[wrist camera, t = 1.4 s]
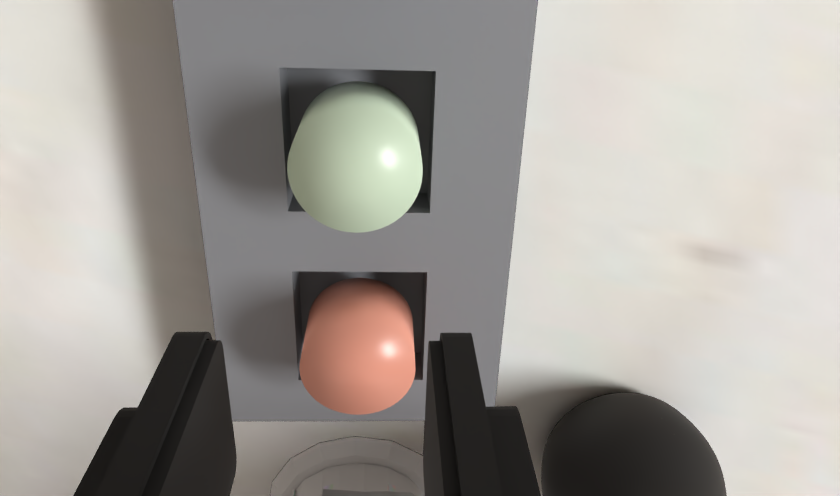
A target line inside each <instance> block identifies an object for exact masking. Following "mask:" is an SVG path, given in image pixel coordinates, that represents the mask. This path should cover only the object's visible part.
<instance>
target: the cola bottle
mask: <svg viewBox="0 0 840 496" xmlns="http://www.w3.org/2000/svg"><path fill="white" fill-rule="evenodd" d="M541 482H542V493H543V496H726V488H725V482H724V478H723V474H722V470H721V467H720V464H719V462H718V460H717V457H716V455H715V453H714V451H713V450H712V448H711V446H710V445H709V443H708V442H707V440H706V439H705V438H704V436H703V435H702V434H701V433H700V431H699V430H698V429H697V428H696V427H695V426H694V425H693V424H692V423H691V422H690V421H689V420H688V419H687V418H686V417H685V416H684V415H682V414H681V413H680V412H679V411H677V410H676V409H675V408H673V407H672V406H670V405H669V404H667V403H665V402H663V401H661V400H659V399H657V398H654V397H651V396H648V395H643V394H638V393H613V394H607V395H603V396H599V397H596V398H593V399H591V400H588V401H586V402H584V403H582V404H580V405H579V406H577V407H575V408H574V409H572V410H571V411H570V412H569V413H567V414H566V415H565V416H564V417H563V418H562V419H561V420H560V421H559V422H558V423H557V425H556V426H555V427H554V429H553V430H552V432H551V434H550V436H549V438H548V440H547V443H546V445H545V449H544V453H543V459H542V470H541Z"/></svg>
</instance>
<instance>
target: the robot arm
mask: <svg viewBox="0 0 840 496" xmlns="http://www.w3.org/2000/svg"><path fill="white" fill-rule="evenodd" d="M235 471H236V448H235V440H234V432H233V424H232V416H231V407H230V399H229V391H228V383H227V375H226V367H225V358H224V350H223V344H222V342H221V341H220V340H212V337H211V334H210V333H209V332H176V333H175V334H174V335H173V337H172V339H171V341H170V343H169V345H168V347H167V349H166V351H165V353H164V355H163V357H162V359H161V361H160V363H159V365H158V367H157V369H156V371H155V373H154V376H153V378H152V380H151V382H150V384H149V386H148V388H147V390H146V392H145V394H144V396H143V398H142V400H141V402H140V404H139V406H138V408H123V409H121V410H119V412H118V413H117V415H116V416H115V418H114V419H113V421H112V423H111V425H110V427H109V429H108V431H107V433H106V435H105V437H104V438H103V440H102V442H101V444H100V446H99V448H98V450H97V452H96V454H95V456H94V458H93V459H92V461H91V463H90V465H89V467H88V469H87V471H86V473H85V475H84V477H83V478H82V480H81V482H80V484H79V486H78V488H77V490H76V492H75V494H74V496H230V492H231V488H232V484H233V480H234V477H235ZM423 476H424V492H425V496H541V495H540V491H539V487H538V483H537V479H536V475H535V471H534V467H533V464H532V460H531V456H530V452H529V448H528V444H527V440H526V436H525V432H524V428H523V425H522V421H521V417H520V414H519V411H518V409H517V407H516V406H505V407H486V405H485V400H484V394H483V389H482V384H481V379H480V374H479V369H478V363H477V358H476V353H475V348H474V343H473V338H472V334H471V333H440V341H429V343H428V361H427V382H426V404H425V426H424V447H423Z"/></svg>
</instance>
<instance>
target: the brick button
mask: <svg viewBox="0 0 840 496" xmlns="http://www.w3.org/2000/svg"><path fill="white" fill-rule="evenodd" d="M299 370H300V376H301V380H302V382H303V385H304V387H305V388H306V390H307V391H308V393H309V394H310V395H311V396H312V397H313V398H314V399H315V400H316V401H317V402H319V403H320V404H322V405H323V406H325V407H327V408H329V409H332V410H334V411H337V412H341V413H345V414H354V415H362V414H371V413H375V412H379V411H382V410H384V409H387V408H389V407H391V406H392V405H394V404H395V403H397V402H398V401H399V400H401V399H402V398H403V397H404V396H405V394H406V393H407V392H408V390H409V389H410V387H411V385H412V383H413V380H414V377H415V370H416V369H415V351H414V334H413V317H412V313H411V309H410V307H409V305H408V303H407V301H406V300H405V298H404V297H403V296H402V295H401V294H400V293H399V292H398V291H397V290H396V289H394V288H393V287H391V286H390V285H388V284H386V283H383V282H381V281H378V280H375V279H369V278H351V279H345V280H342V281H339V282H336V283H334V284H332V285H330V286H329V287H327V288H326V289H324V290H323V291H322V292H321V293H320V294H319V295H318V296H317V298H316V299H315V300H314V302H313V304H312V306H311V308H310V311H309V316H308V322H307V327H306V332H305V338H304V343H303V348H302V354H301V359H300V368H299Z"/></svg>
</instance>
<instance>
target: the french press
mask: <svg viewBox="0 0 840 496" xmlns="http://www.w3.org/2000/svg"><path fill="white" fill-rule="evenodd" d="M270 496H425V492H424V476H423V456H422V455H420V454H418V453H416V452H414V451H412V450H410V449H408V448H406V447H404V446H401V445H399V444H397V443H395V442H393V441H388V440H380V439H372V438H364V437H356V436H355V437H350V438H344V439H338V440H333V441H327V442H321V443H318V444H316V445H314V446H313V447H311V448H309V449H307V450H305V451H304V452H302V453H300V454H298V455H296V456H294V457H293V458H291V459H290V460H289V461H288V462H287V463H286V465H285V466H284V467H283V469H282V470H281V471H280V472H279V474H278V475H277V476H276V478H275V479H274V480H273V481H272V486H271V493H270Z"/></svg>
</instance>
